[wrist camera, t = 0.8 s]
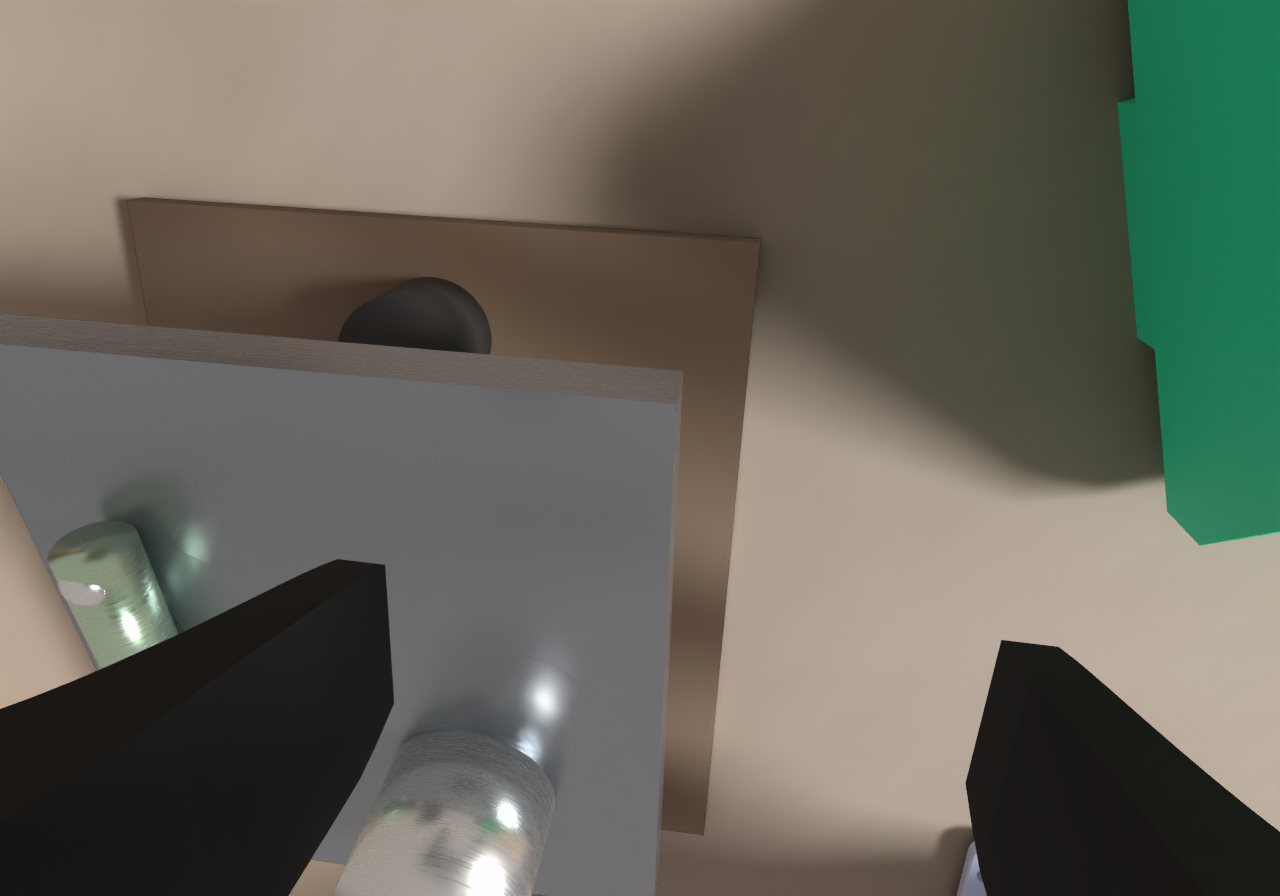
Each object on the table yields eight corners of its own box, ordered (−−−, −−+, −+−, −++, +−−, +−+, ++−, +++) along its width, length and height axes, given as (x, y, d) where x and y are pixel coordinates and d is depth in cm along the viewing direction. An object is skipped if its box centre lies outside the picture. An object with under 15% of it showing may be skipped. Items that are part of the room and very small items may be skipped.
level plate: (659, 871, 21) (634, 1055, 18) (201, 803, 23) (101, 963, 19) (683, 371, 14) (647, 535, 10) (-19, 311, 15) (-247, 440, 12)
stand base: (704, 826, 25) (696, 909, 22) (237, 760, 26) (181, 830, 24) (760, 238, 18) (758, 261, 16) (144, 197, 20) (55, 212, 18)
